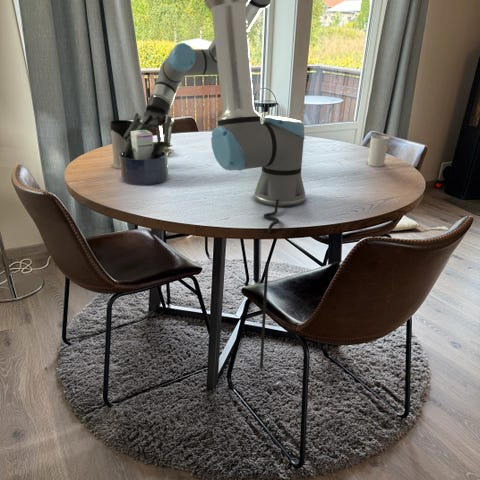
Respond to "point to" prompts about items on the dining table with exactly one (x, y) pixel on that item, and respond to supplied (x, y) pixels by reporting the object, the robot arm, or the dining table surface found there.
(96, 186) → the dining table surface
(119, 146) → the white black mug
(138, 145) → the syrup box
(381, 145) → the cream cylindrical container
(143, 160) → the pot
